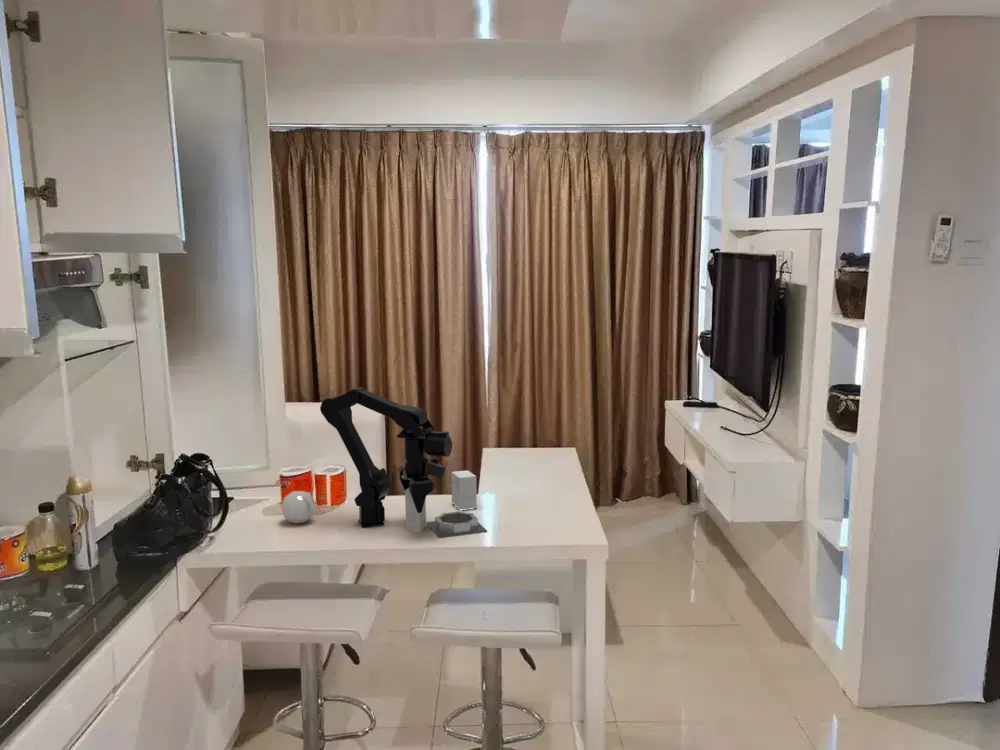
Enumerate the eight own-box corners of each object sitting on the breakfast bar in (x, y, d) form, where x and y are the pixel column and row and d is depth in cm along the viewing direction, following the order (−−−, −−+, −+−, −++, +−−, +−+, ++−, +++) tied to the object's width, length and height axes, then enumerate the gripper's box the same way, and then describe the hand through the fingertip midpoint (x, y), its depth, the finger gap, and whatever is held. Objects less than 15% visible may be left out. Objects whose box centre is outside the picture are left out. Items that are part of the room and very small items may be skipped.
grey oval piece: (291, 533, 213) (300, 522, 228) (319, 512, 213) (326, 503, 228) (271, 507, 212) (281, 498, 227) (299, 486, 213) (308, 479, 228)
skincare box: (412, 524, 216) (411, 484, 214) (426, 526, 215) (425, 485, 214) (405, 531, 210) (404, 490, 209) (419, 533, 209) (419, 491, 208)
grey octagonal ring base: (438, 538, 205) (438, 528, 205) (426, 523, 217) (426, 514, 217) (487, 532, 210) (487, 522, 210) (472, 518, 222) (472, 508, 222)
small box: (477, 509, 230) (476, 476, 229) (459, 511, 228) (459, 477, 227) (468, 502, 238) (468, 469, 236) (451, 504, 236) (451, 471, 234)
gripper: (452, 459, 204) (452, 514, 206) (434, 444, 221) (434, 496, 223) (411, 462, 200) (412, 519, 202) (396, 447, 217) (397, 499, 220)
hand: (415, 507), depth 212 cm, fingers open, 9 cm apart
